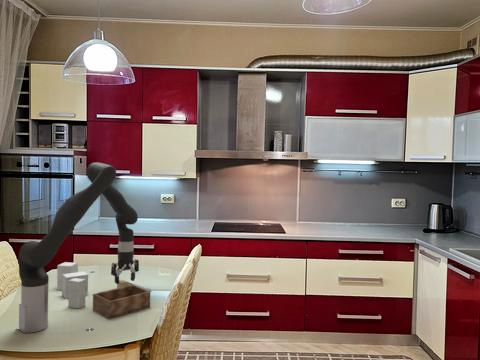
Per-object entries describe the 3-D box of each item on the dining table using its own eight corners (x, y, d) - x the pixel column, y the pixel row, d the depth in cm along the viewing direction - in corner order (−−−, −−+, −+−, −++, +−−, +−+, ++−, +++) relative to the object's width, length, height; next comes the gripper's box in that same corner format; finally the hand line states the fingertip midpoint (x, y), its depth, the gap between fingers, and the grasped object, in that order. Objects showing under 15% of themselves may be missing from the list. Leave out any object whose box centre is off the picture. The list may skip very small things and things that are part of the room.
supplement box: (78, 286, 202) (78, 262, 202) (70, 291, 195) (70, 266, 194) (64, 285, 203) (65, 261, 203) (56, 290, 195) (56, 265, 195)
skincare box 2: (85, 305, 175) (86, 279, 175) (79, 308, 171) (79, 281, 171) (74, 303, 177) (74, 277, 177) (67, 307, 173) (68, 280, 172)
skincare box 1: (65, 299, 183) (65, 277, 182) (61, 295, 188) (62, 274, 187) (88, 295, 189) (88, 273, 189) (83, 291, 194) (84, 270, 194)
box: (109, 318, 161) (109, 302, 160) (92, 309, 170) (93, 294, 170) (150, 307, 175) (150, 291, 175) (133, 299, 185) (133, 284, 185)
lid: (113, 302, 182) (113, 290, 182) (97, 294, 192) (98, 283, 192) (151, 292, 198) (151, 281, 198) (134, 286, 208) (135, 275, 208)
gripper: (116, 253, 187) (115, 286, 187) (142, 249, 197) (141, 281, 198) (108, 250, 192) (108, 283, 192) (134, 247, 202) (133, 278, 203)
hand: (124, 282), depth 195 cm, fingers open, 8 cm apart
